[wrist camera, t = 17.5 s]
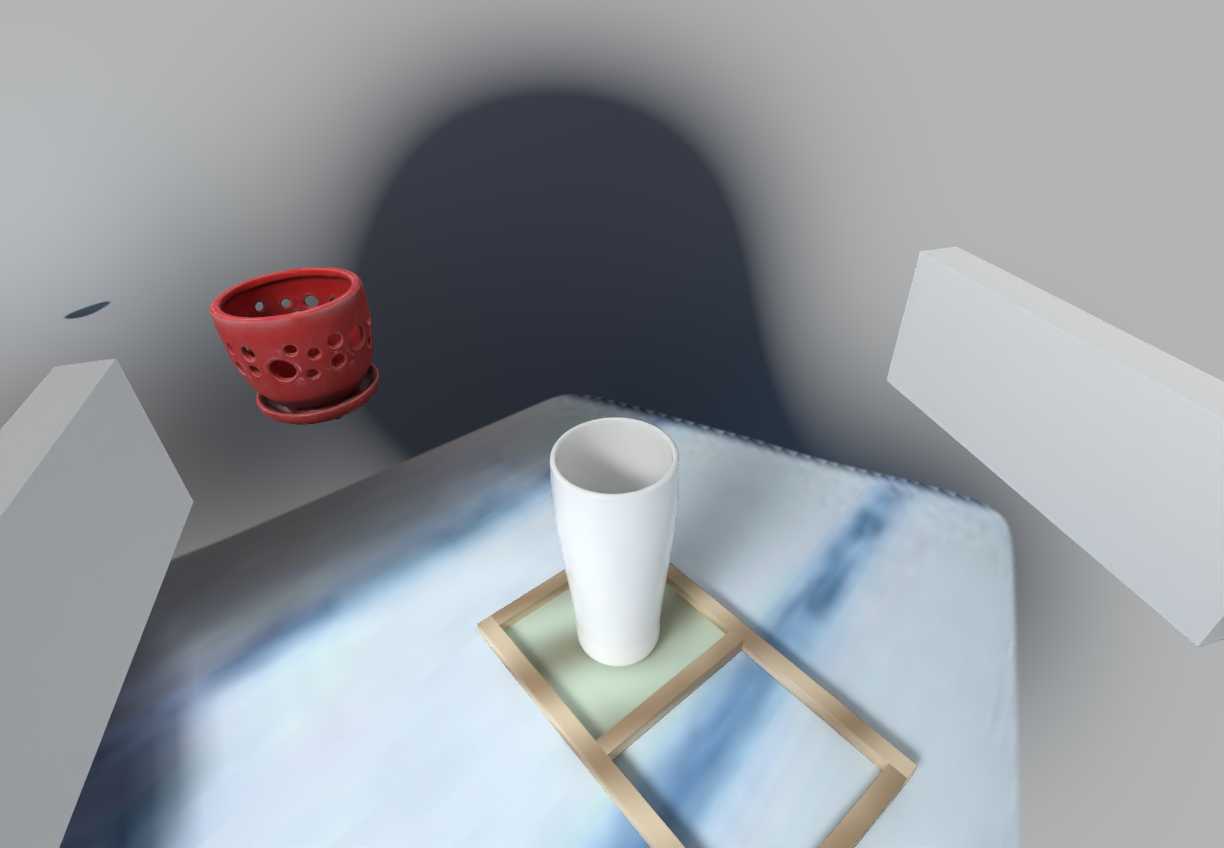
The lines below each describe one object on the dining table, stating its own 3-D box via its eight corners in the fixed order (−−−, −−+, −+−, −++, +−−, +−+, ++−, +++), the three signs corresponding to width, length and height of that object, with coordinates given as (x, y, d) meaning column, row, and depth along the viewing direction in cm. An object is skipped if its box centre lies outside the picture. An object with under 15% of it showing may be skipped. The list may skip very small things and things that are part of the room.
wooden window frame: (479, 633, 42) (477, 623, 42) (629, 538, 49) (629, 529, 48) (752, 975, 28) (754, 968, 27) (912, 774, 34) (917, 765, 34)
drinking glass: (559, 601, 44) (541, 423, 35) (656, 585, 45) (662, 408, 36) (574, 691, 39) (556, 507, 30) (683, 671, 40) (697, 487, 31)
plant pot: (416, 388, 67) (390, 279, 60) (302, 453, 59) (256, 335, 52) (341, 353, 74) (309, 252, 67) (228, 407, 65) (179, 297, 58)
